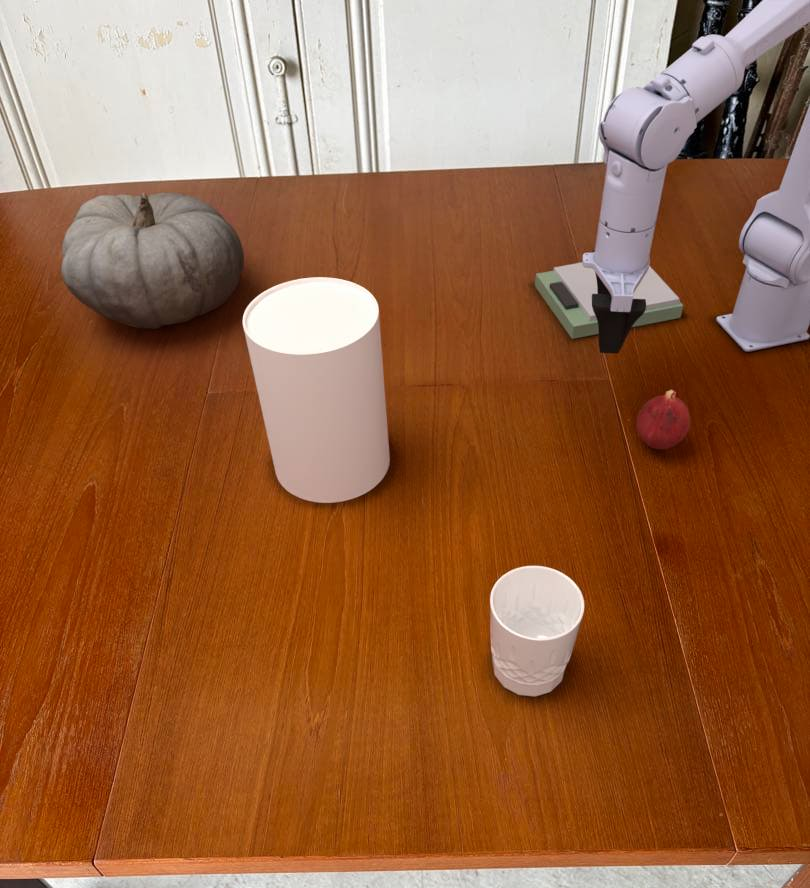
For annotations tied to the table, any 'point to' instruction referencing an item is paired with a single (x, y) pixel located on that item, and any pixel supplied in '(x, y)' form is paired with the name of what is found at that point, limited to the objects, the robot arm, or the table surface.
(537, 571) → the white cup
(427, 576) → the table surface
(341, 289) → the canister
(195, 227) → the gourd
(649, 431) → the onion
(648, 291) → the scale
